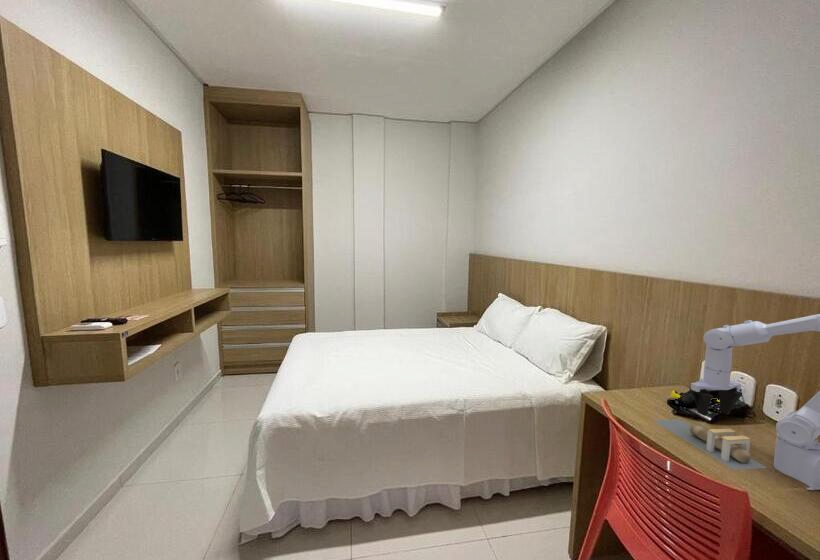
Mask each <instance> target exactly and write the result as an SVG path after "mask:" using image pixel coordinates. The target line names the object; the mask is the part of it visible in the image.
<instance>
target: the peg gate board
mask: <svg viewBox="0 0 820 560" xmlns="http://www.w3.org/2000/svg"><path fill="white" fill-rule="evenodd" d="M652 421H653V422H654V423H656V424H658V425H659V426H661V427H663V428H664V429H666V431H667V430H668V432H671V433H672V434H674V435H676V436H677V437H679V438H681V439H682V440H684V441H685V442H687V443H688V444H691V445H692V446H694V447H695V448H697V449H699V450H700V451H702V452H704V453H705V454H707V455H709V456H710V457H712V458H714V459H715V460H717V461H719V462H720V463H722V464H723V465H725V466H726V467H728V468H729V469H730V470H733V471H737V470H753V469H756V470H757V469H768V467H767V466H765V465H764V464H762V463H760V462H758V461H756V460H754V459H752V458H751V459H750V461H749V462H748V463H742V462H740V461H738V460H737V459H735V458H733V457H731V456H730V445H731V444H734V445H736V444H737V445H740V448H741V449H743V450H745V451H747V452H749V453H750V446H751V438H749V437H748V436H745V435H735V434H736V433H737V431H735V430H734V429H732V428H711V429H707V430H708V436H707V442H705V441H703V440H702V439H700V438H698V437H696V436H695V435H693V434H691V433H690V428H691V426H692V425H691V424H689V423H687V422H686V421H684V420H682V419H677V418H676V419H657V420H656V419H655V420H652ZM715 436H719V437H721V438H722V439H723V442H722V451H721V450H719V449H717V448H716V447H714V444H715Z"/></svg>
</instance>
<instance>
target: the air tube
mask: <svg viewBox="0 0 820 560" xmlns="http://www.w3.org/2000/svg"><path fill="white" fill-rule="evenodd" d="M690 433H691V434H693V435H695V436H696V437H698V438H700V439H702V440H703V441H705V442H707V436H708V429H705V428H704V427H702V426H700V425H698V424H693V425H691V428H690ZM721 437H722V436H715V444H714V447H716V448H717V449H719V450H721V451H722V442H723V439H722V438H721ZM751 455H752V454H751V453H750V451H749V452H747V451H745V450H743V449H741V447H739V446H737V445H736V444H731V445H730V456H731V457H733V458H735V459H737V460H738V461H740V462H742V463H748V462H749V461H750V459H752V456H751Z"/></svg>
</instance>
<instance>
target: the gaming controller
mask: <svg viewBox="0 0 820 560" xmlns="http://www.w3.org/2000/svg"><path fill="white" fill-rule="evenodd" d="M685 393H686V392H680V393H678V391H677V390H675V389H674V390H672V391H671V392H670V395H669V401H670V400H675V399H678V398H680V397H681V395H683V394H685ZM716 399H717V400H716V401H717V402H720V399H719V400H718V398H716Z"/></svg>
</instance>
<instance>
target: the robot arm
mask: <svg viewBox="0 0 820 560" xmlns="http://www.w3.org/2000/svg"><path fill="white" fill-rule="evenodd" d="M811 331H815V332H818V333H819V332H820V313H817V314H811V315H807V316H804V317H803V316H801V317H798V318H793V319H788V320H783V321H777V322H772V323H764V322H761V321H758V320H755V321H753V320H751V319H748V320H745V321H743V323H740V324H739V323H738V324H734V325H733V324H732V325H729V324H725V325H723V327H718V328H712V329H709V330H707V331H705V333H704V334H703V338H702V339H703V342H704V344H705V346H706V347H705V353H704V354H705V355H704V356H705V357H704V368H703V376H702V377H701V378H700V379H699V381H696V382H691V383H690V387H689V392H690V394H692V395H693V397H694V400H695V403H696V406H697V408H696V410H697V413H698V414H700V415H702V416H707V415H708V413H709V410H708V408H709V404H710V401H711V400H712V399H714V397H715V396H714V395H713V394H710V393H709V392H708V391H717V392H718V398H719V400H720V405H719V406H720V408H719V412H721V413H722V414H723V413H724V414H726V415H730V413H731V412H732V410H733V407H734V406H735V404H736V402H737V401H738V400H739V399H740V398H741V397H742V396H743V392H742V391H741V388H742V383H741V382H738V381H734V380H733V381H731V372H732V361H733V347H741V346H743V347H744V346H748V345H754V344H755V345H756V344H762V343H768V342H769V341H770V340H771V338H772V337H773V336H780V335H788V334H795V333H796V334H797V333H805V332H811ZM775 431H776V440H775V449H774V458H773V467H774V468H775V469H776V470H777V471H778V472H780V473H782V474H784V475H786V476H787V477H791V478H793V479H794V480H797V481H798V482H801V483H803V484H805V485H806V486H803V487H802V488H804V489H806V490H807V491H817V490H820V441H819V439H818V437H819V436H820V390H819V391H817V392H816V393H815V395H814V396H813V397H811V398H810V399H809V400H808V401H807V402H806V403H805V404H804V405H802V407H801V408H799V409H798V410H796V411H795V410H794V411H792V412H790V413H788V414H787V415H786V417H784V418H781V419H779V420H778V421H777V422H776V425H775Z"/></svg>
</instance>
